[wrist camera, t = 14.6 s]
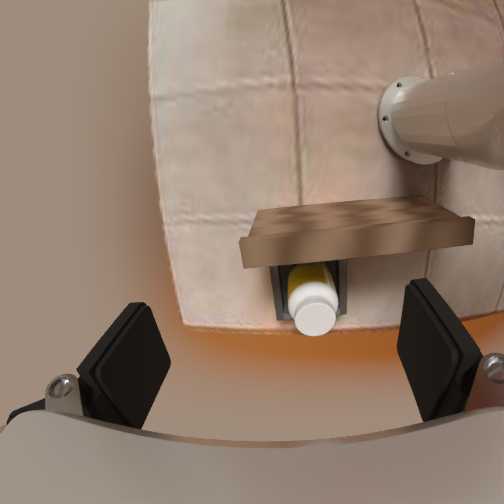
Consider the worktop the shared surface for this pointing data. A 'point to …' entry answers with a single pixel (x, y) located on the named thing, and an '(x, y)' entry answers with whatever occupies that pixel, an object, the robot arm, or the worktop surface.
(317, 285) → the pill bottle
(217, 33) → the worktop surface
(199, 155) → the worktop surface
